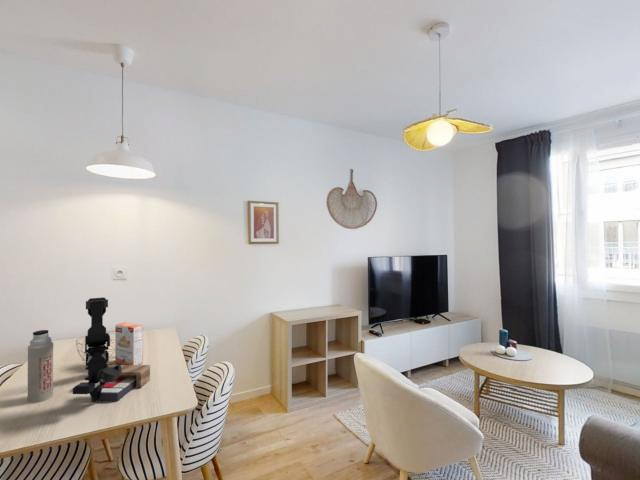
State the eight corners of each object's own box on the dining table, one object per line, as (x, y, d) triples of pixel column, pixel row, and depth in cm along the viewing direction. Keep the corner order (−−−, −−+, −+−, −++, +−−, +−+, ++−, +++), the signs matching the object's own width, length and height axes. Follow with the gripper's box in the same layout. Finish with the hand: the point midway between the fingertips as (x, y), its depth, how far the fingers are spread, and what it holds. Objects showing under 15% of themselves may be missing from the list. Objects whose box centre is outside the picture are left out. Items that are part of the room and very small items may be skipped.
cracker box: (114, 363, 168) (114, 324, 168) (125, 359, 173) (125, 321, 173) (132, 367, 162) (133, 327, 162) (143, 363, 168) (143, 324, 168)
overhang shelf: (90, 388, 140) (90, 372, 140) (102, 380, 148) (102, 365, 148) (140, 388, 141) (140, 372, 141) (149, 380, 149) (150, 365, 149)
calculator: (138, 377, 144) (117, 391, 129) (138, 386, 144) (117, 402, 129) (114, 377, 144) (90, 391, 129) (113, 386, 144) (90, 402, 129)
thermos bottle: (56, 396, 133) (56, 330, 132) (31, 404, 126) (31, 335, 126) (48, 391, 137) (49, 327, 137) (24, 399, 130) (24, 332, 130)
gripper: (101, 372, 118) (101, 413, 118) (130, 354, 137) (129, 389, 137) (71, 372, 118) (71, 413, 118) (104, 354, 137) (103, 390, 137)
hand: (96, 400), depth 127 cm, fingers closed
